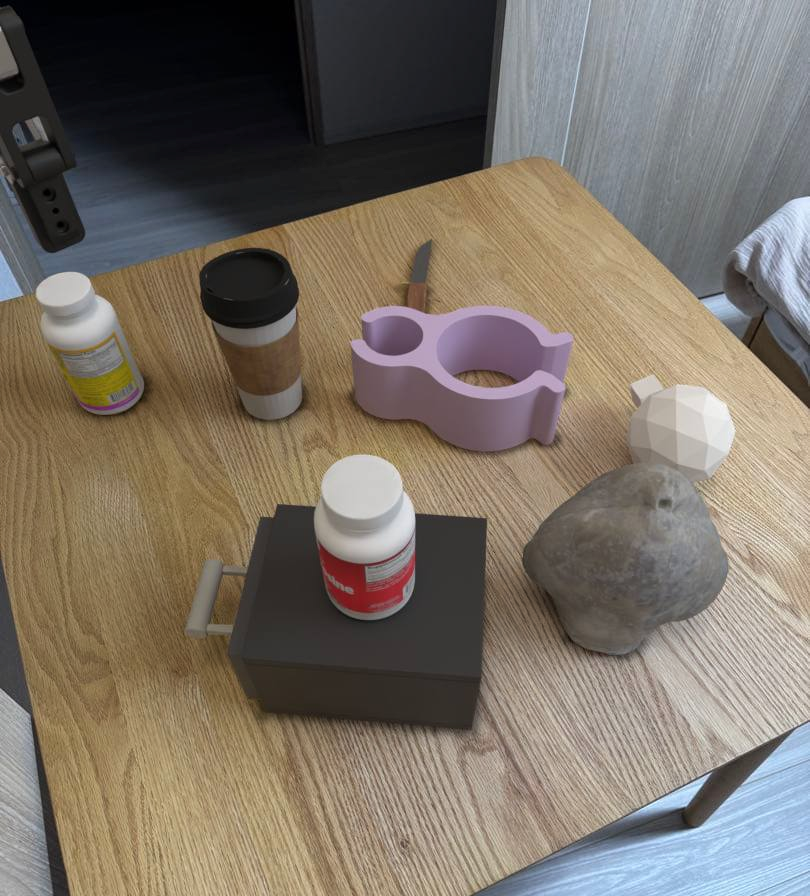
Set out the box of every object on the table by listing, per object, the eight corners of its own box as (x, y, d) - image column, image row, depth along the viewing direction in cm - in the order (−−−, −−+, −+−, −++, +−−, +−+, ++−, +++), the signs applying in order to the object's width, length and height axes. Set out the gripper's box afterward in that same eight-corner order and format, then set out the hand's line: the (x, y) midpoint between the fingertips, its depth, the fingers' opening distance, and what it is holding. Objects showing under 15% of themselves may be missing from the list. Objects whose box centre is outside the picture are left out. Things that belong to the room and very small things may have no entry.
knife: (406, 233, 88) (432, 234, 88) (406, 241, 89) (432, 242, 89) (395, 328, 79) (423, 329, 79) (395, 335, 80) (423, 336, 80)
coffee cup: (213, 399, 75) (173, 271, 63) (278, 357, 78) (252, 227, 66) (266, 443, 72) (235, 317, 59) (332, 397, 75) (316, 269, 63)
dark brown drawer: (191, 694, 57) (163, 649, 50) (225, 566, 63) (204, 511, 56) (440, 715, 55) (443, 671, 49) (449, 583, 62) (453, 529, 55)
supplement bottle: (89, 370, 78) (37, 262, 67) (152, 371, 77) (110, 264, 67) (70, 417, 74) (12, 312, 63) (137, 419, 74) (90, 313, 63)
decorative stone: (513, 649, 59) (539, 544, 47) (515, 541, 65) (539, 422, 53) (707, 666, 58) (786, 563, 46) (692, 555, 64) (759, 437, 52)
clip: (343, 428, 73) (337, 375, 67) (375, 342, 79) (373, 287, 74) (549, 463, 70) (561, 411, 64) (564, 372, 77) (577, 317, 71)
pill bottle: (313, 564, 53) (292, 463, 44) (393, 535, 54) (389, 431, 45) (345, 637, 49) (329, 544, 40) (429, 604, 51) (433, 507, 42)
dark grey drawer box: (265, 712, 57) (240, 658, 49) (294, 571, 64) (276, 503, 56) (471, 730, 56) (481, 677, 48) (477, 584, 63) (487, 517, 55)
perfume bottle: (753, 483, 66) (688, 400, 74) (755, 411, 59) (683, 328, 67) (660, 522, 67) (605, 436, 75) (650, 456, 60) (591, 369, 68)
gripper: (18, -221, 23) (161, 241, 37) (-134, -293, 29) (36, 126, 43) (-241, -173, 21) (16, 306, 34) (-348, -263, 27) (-95, 173, 40)
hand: (27, 205), depth 39 cm, fingers open, 8 cm apart
